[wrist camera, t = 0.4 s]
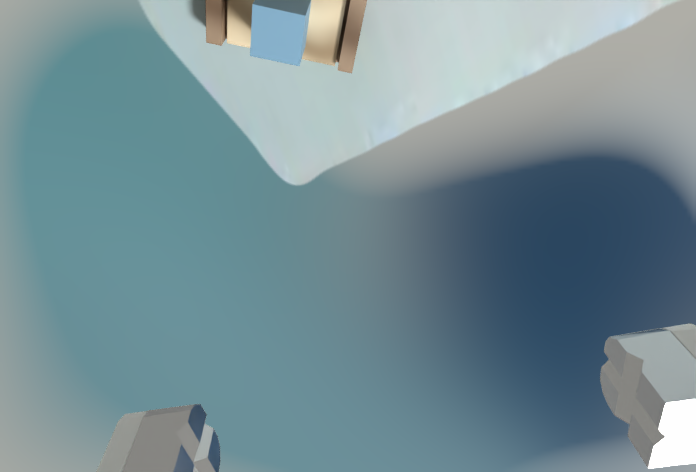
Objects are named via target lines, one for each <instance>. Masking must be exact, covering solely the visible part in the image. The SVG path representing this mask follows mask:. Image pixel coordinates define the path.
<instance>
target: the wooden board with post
mask: <svg viewBox="0 0 696 472" xmlns="http://www.w3.org/2000/svg"><path fill="white" fill-rule="evenodd" d="M254 1H255V0H228V9H227V43H229V44H234V45H238V46H243V47H248V48H250V46H251V24H252V4H253V2H254ZM345 6H346V0H311V7H310V15H309V23H308V30H307V38H306V46H305V49H304V53H303V56H302V59H304V60H309V61H314V62H319V63H323V64H328V65H333V66H335V62H336V56H337V51H338V45H339V39H340V34H341V28H342V22H343V17H344V11H345Z"/></svg>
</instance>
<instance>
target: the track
mask: <svg viewBox="0 0 696 472" xmlns="http://www.w3.org/2000/svg"><path fill="white" fill-rule="evenodd" d="M366 2H367V0H346V6H345V11H344V17H343V22H342V28H341V34H340V39H339V45H338V51H337V56H336V62H339V65H338V70H339V71H344V72H348V73H352V70H353V65H354V60H355V55H356V50H357V46H358V41H359V36H360V31H361V26H362V21H363V17H364V12H365V7H366ZM227 9H228V0H206V43H211V44H216V45H222V44H223V42H224V41H225V39H227Z"/></svg>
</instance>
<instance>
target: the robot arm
mask: <svg viewBox="0 0 696 472" xmlns="http://www.w3.org/2000/svg"><path fill="white" fill-rule="evenodd" d="M604 352H605V353H606V355H607V357H608V358H609V360H608V361H607V362H606V363H605V364H604V365H603V366H602V367H601V377H600V381H601V386H602V391H603V394H604V396H605V399H606V401H607V403H608V405H609V407H610V409H611V410H612V412H613V413H614V415H615V416H617V417H618V418H620V419H621V420H623V421H625V422H626V423H628V424H629V430H628V437H629V439H630V440H631V442H632V444H633V445H634V447H635V448H636V450H637V451H638V453H639V454H640V456H641V458H642V459H643V461H644V462H645V464H646V466H647V467H648V468H656V467H664V466H673V465H681V464H689V463H696V326H695V325H693V324H684V325H679V326H673V327H666V328H662V329H660V328H658V329H653V330H647V331H641V332H635V333H629V334H623V335H618V336H612V337H609V338H608V339H607V341H606V342H605V348H604ZM205 419H206V413H205V411H204V410H203V408H202V406H201V404H195V405H187V406H179V407H172V408H164V409H157V410H149V411H145V412H137V413H130V414H125V415H124V416H123V417H122V418H121V419H120V420H119V421H118V423H117V425H116V428H115V430H114V432H113V435H112V437H111V440H110V442H109V444H108V446H107V449H106V451H105V453H104V455H103V458H102V460H101V462H100V465H99V467H98V469H97V472H219V466H220V445H219V440H218V436H217V434H216V432H215V430H214V429H213V428H212V427H210V426H208V425H206V424H204V423H205Z"/></svg>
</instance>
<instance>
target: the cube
mask: <svg viewBox="0 0 696 472" xmlns="http://www.w3.org/2000/svg"><path fill="white" fill-rule="evenodd" d="M310 7H311V0H255V1H254V2H253V4H252V24H251V46H250V56H253V57H258V58H263V59H268V60H272V61H277V62H282V63H287V64H291V65H296V66H300V62H301V59H302V56H303V53H304V49H305V46H306V38H307V30H308V23H309V15H310Z"/></svg>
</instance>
